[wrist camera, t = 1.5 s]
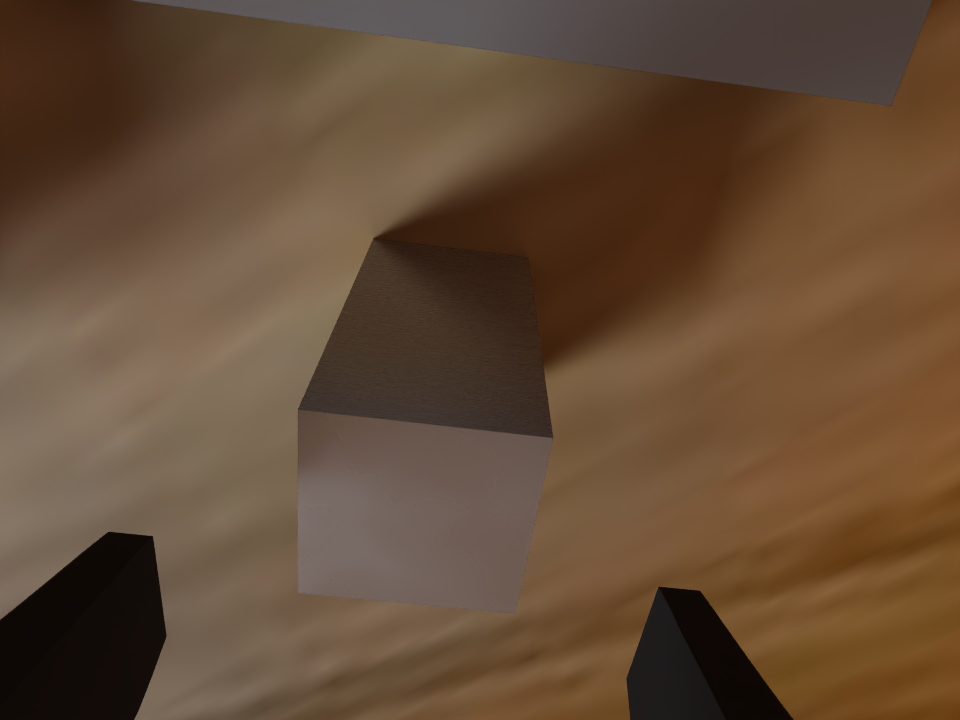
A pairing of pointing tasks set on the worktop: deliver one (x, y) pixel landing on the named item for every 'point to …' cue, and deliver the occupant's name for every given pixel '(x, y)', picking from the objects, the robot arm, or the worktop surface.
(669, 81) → the worktop surface
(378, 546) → the peg
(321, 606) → the worktop surface
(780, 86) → the socket plate
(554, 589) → the worktop surface
